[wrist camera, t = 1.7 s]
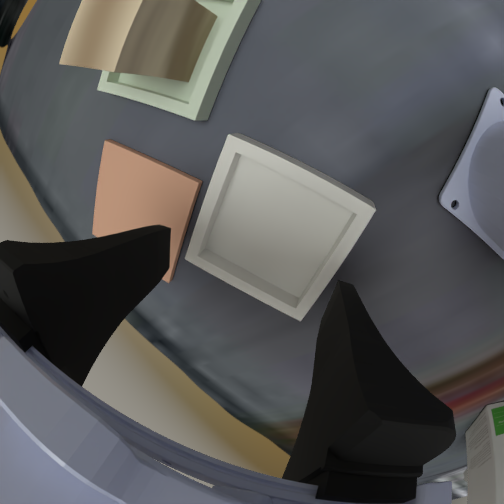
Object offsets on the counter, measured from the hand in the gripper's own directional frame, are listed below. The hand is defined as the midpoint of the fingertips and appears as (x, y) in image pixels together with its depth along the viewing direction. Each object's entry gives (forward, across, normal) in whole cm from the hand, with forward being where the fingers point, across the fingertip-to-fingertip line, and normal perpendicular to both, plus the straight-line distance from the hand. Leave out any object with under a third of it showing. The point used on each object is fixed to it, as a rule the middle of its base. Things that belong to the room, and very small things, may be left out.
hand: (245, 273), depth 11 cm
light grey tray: (+5, 0, 0) cm, 5 cm away
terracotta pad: (+5, +10, +2) cm, 11 cm away
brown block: (+5, +8, -10) cm, 14 cm away
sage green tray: (+5, +8, -10) cm, 14 cm away
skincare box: (+6, -31, +13) cm, 34 cm away
